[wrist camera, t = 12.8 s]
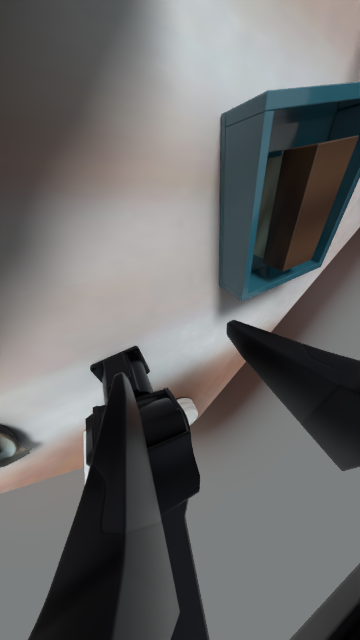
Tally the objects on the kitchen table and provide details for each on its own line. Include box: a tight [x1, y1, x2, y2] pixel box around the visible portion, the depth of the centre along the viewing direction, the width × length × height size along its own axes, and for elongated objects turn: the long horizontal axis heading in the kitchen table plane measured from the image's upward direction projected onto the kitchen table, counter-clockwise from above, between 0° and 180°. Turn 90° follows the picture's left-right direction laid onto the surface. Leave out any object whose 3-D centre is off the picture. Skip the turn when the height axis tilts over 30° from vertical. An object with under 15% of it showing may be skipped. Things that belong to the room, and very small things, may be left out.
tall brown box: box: [254, 136, 359, 271], centre depth 18 cm, size 10×4×5 cm, turn 9°
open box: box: [219, 82, 360, 302], centre depth 18 cm, size 16×14×5 cm
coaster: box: [177, 398, 198, 426], centre depth 39 cm, size 10×10×4 cm
